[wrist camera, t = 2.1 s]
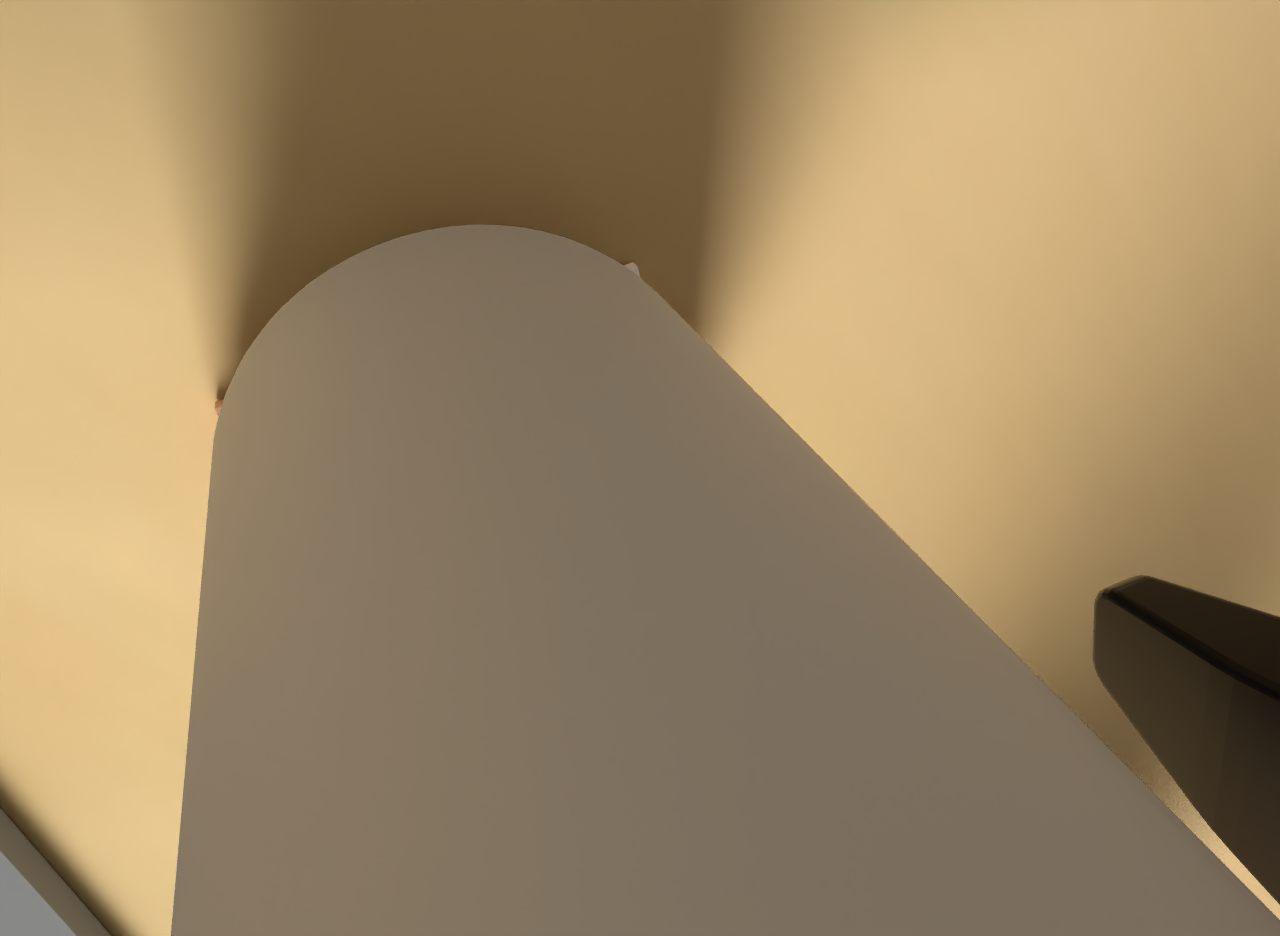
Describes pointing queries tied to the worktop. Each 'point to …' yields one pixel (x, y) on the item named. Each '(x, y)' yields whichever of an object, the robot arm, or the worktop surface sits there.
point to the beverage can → (607, 651)
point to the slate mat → (37, 893)
